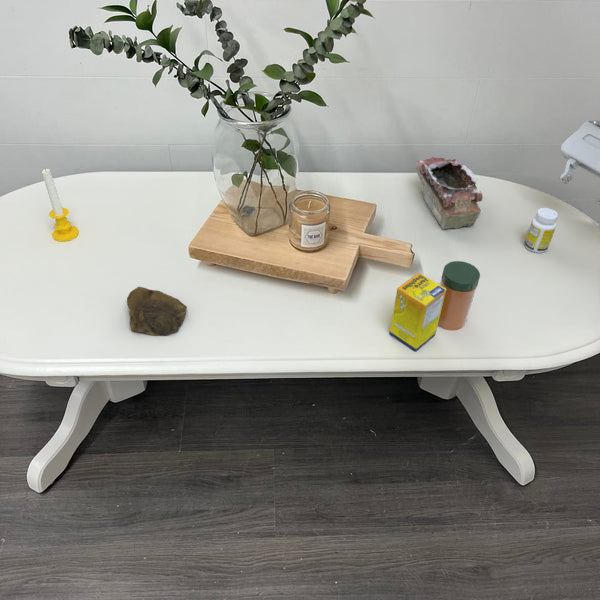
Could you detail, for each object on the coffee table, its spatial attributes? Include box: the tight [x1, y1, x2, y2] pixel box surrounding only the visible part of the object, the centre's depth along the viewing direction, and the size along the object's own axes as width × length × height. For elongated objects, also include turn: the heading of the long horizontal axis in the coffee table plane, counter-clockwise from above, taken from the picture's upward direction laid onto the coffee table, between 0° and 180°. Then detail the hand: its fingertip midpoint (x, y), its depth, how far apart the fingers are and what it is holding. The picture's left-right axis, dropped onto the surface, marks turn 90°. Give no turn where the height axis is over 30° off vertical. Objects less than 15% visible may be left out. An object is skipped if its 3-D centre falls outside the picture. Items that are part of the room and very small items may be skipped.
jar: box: [437, 277, 478, 331], centre depth 100 cm, size 6×6×10 cm
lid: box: [441, 260, 481, 291], centre depth 97 cm, size 6×6×2 cm
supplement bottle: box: [523, 207, 559, 254], centre depth 118 cm, size 5×5×8 cm
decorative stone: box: [126, 286, 188, 337], centre depth 101 cm, size 10×9×4 cm
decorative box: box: [415, 156, 484, 230], centre depth 127 cm, size 13×20×10 cm, turn 5°
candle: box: [41, 168, 80, 243], centre depth 114 cm, size 5×5×16 cm
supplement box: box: [389, 272, 446, 352], centre depth 97 cm, size 6×6×11 cm
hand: (580, 192), depth 116 cm, fingers open, 8 cm apart
